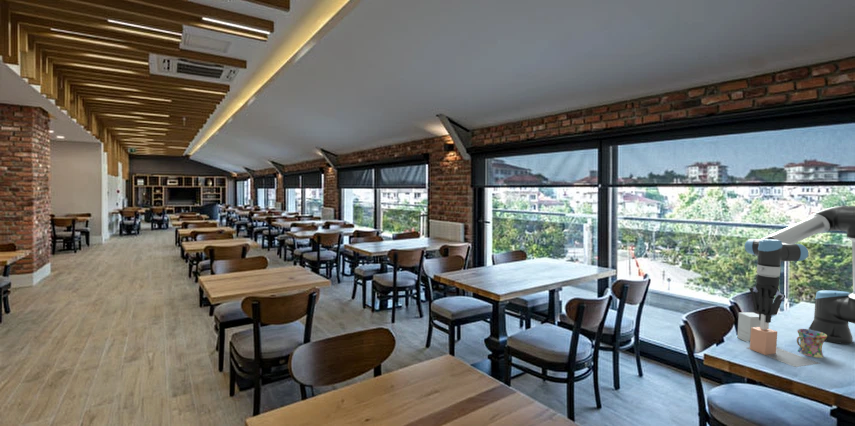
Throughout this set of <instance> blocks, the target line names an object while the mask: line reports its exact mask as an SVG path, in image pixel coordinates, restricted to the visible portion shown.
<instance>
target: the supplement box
mask: <svg viewBox="0 0 855 426" xmlns="http://www.w3.org/2000/svg"><path fill="white" fill-rule="evenodd" d="M753 327H760V320H759V313H756V312H751V311H750V312H747V311H745V312H738V320H737V337H736V338H737V339H740V340H742V342H743V341H744V342H746V343H747V342H750V338H751V328H753Z"/></svg>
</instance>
